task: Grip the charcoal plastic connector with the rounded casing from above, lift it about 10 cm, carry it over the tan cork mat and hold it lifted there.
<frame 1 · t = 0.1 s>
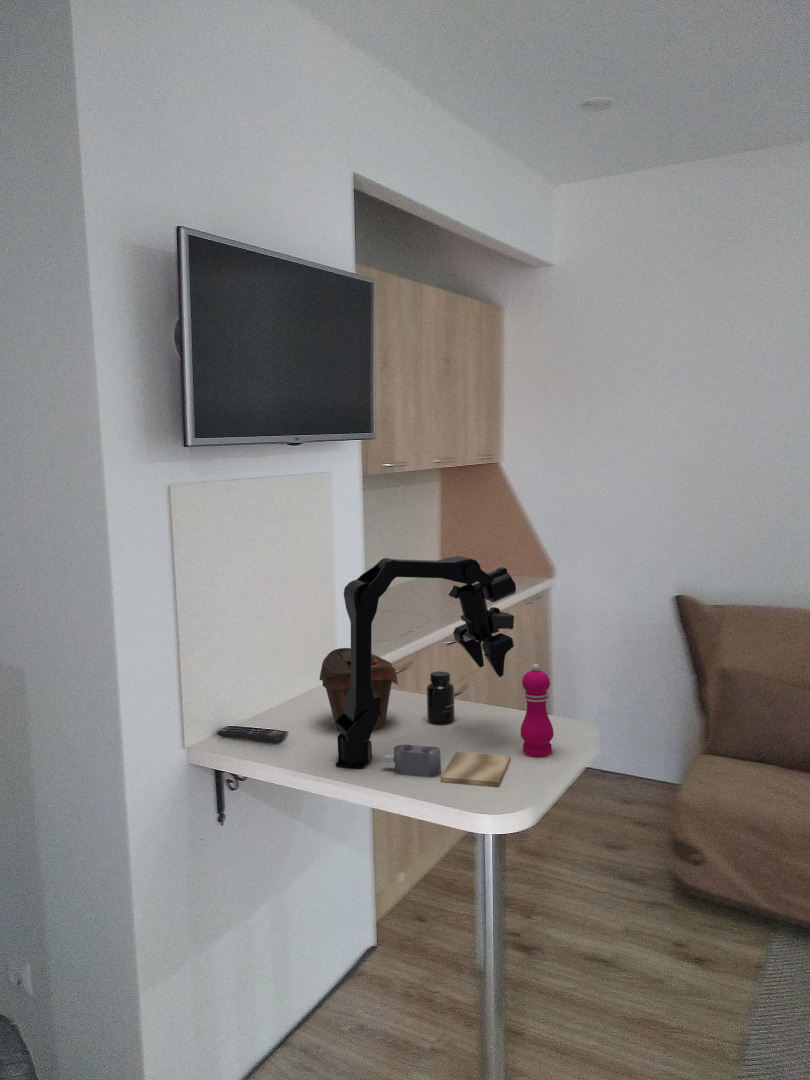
hand: (491, 671, 190), 15 cm above the table, tool pointing down, fingers open, 9 cm apart
cork mat: (476, 770, 172), on the table
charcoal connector: (417, 771, 172), on the table
supplement bottle: (441, 721, 204), on the table
brown tapered rounded piece: (361, 724, 203), on the table
pepper mill: (537, 752, 181), on the table
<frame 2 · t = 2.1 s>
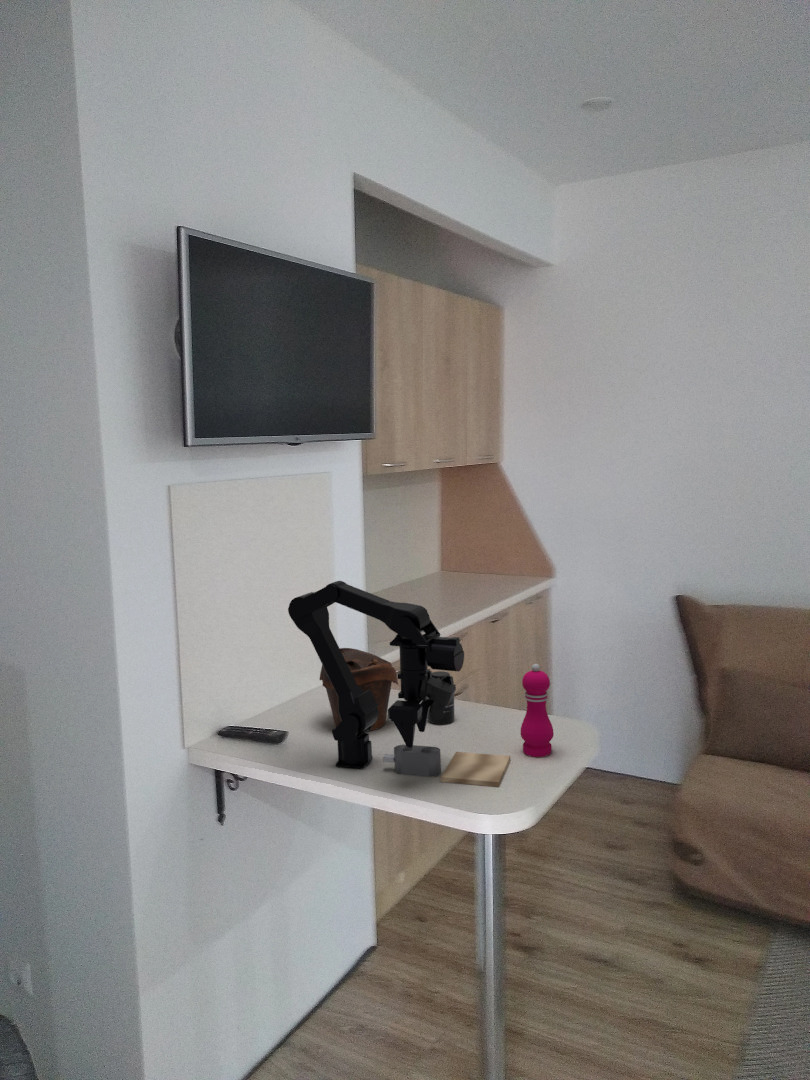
hand: (416, 739, 172), 7 cm above the table, tool pointing down, fingers open, 9 cm apart
nothing on the table moved.
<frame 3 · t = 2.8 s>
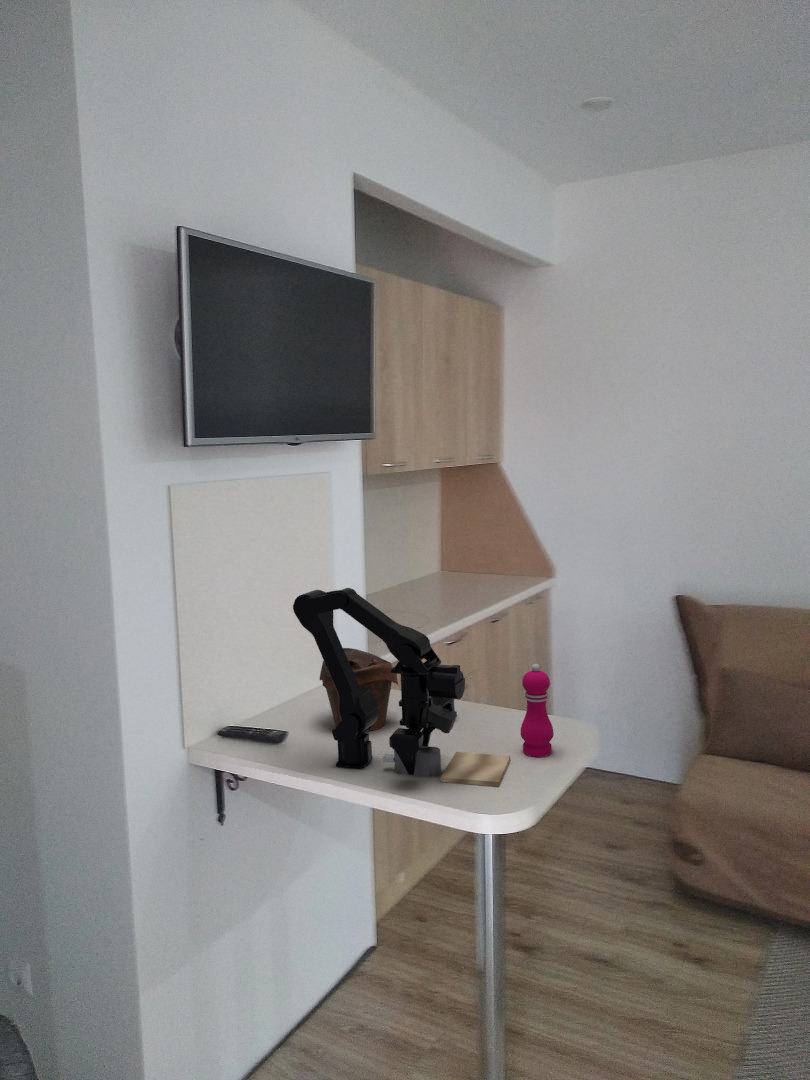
hand: (417, 766, 172), 1 cm above the table, tool pointing down, fingers open, 9 cm apart
nothing on the table moved.
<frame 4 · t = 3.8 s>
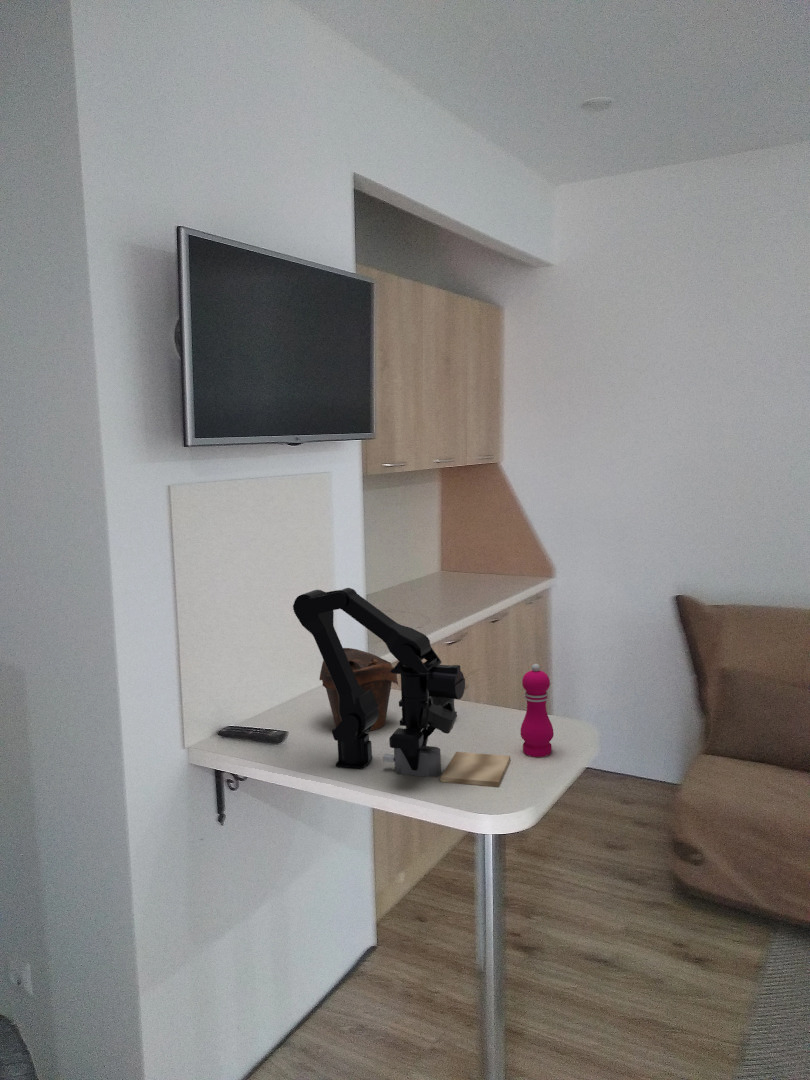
hand: (417, 766, 172), 1 cm above the table, tool pointing down, fingers closed on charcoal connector, 4 cm apart
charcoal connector: (417, 771, 172), on the table, touching gripper
everything else where it was.
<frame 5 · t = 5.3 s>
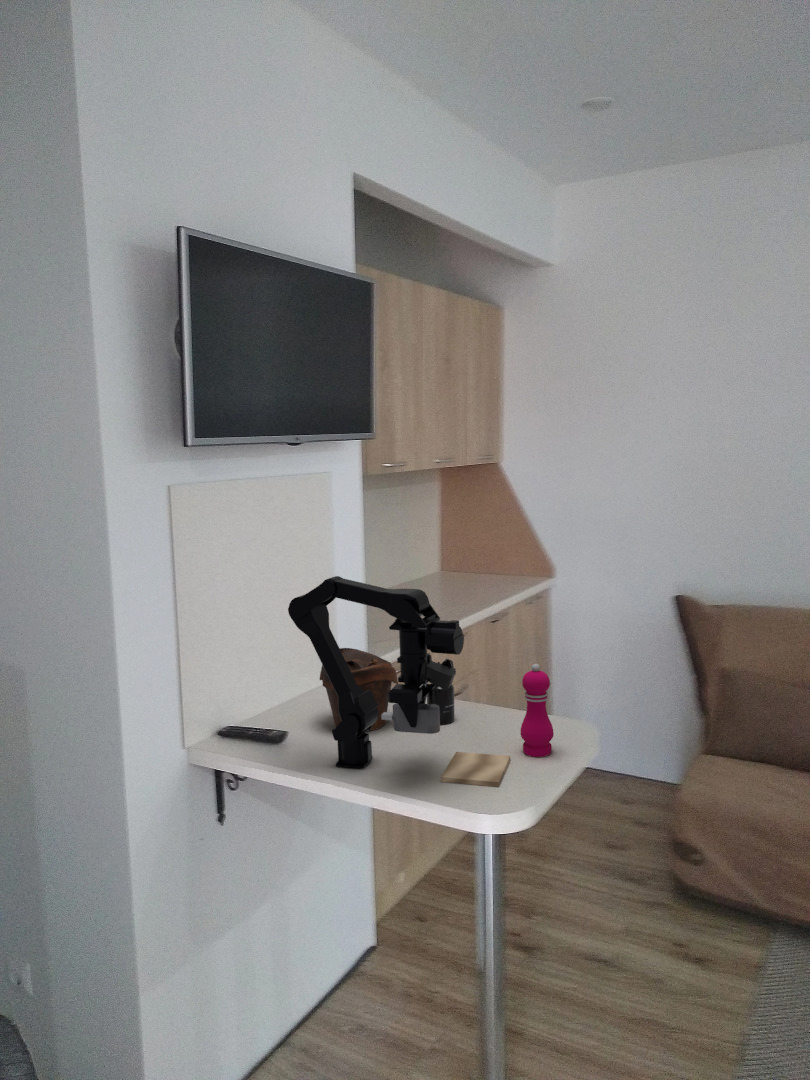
hand: (416, 723, 171), 11 cm above the table, tool pointing down, fingers closed on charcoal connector, 4 cm apart
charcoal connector: (416, 729, 171), point 9 cm above the table, touching gripper
everything else where it was.
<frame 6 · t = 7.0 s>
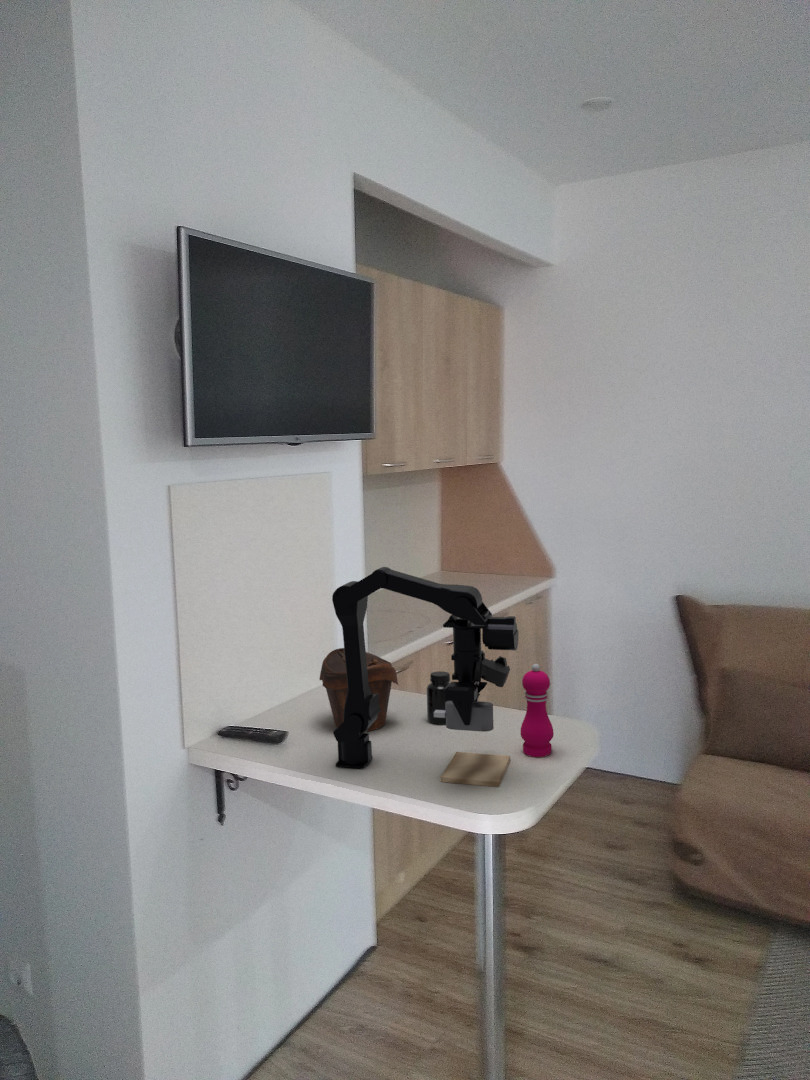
hand: (469, 721, 170), 11 cm above the table, tool pointing down, fingers closed on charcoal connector, 4 cm apart
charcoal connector: (469, 727, 170), point 10 cm above the table, touching gripper
everything else where it was.
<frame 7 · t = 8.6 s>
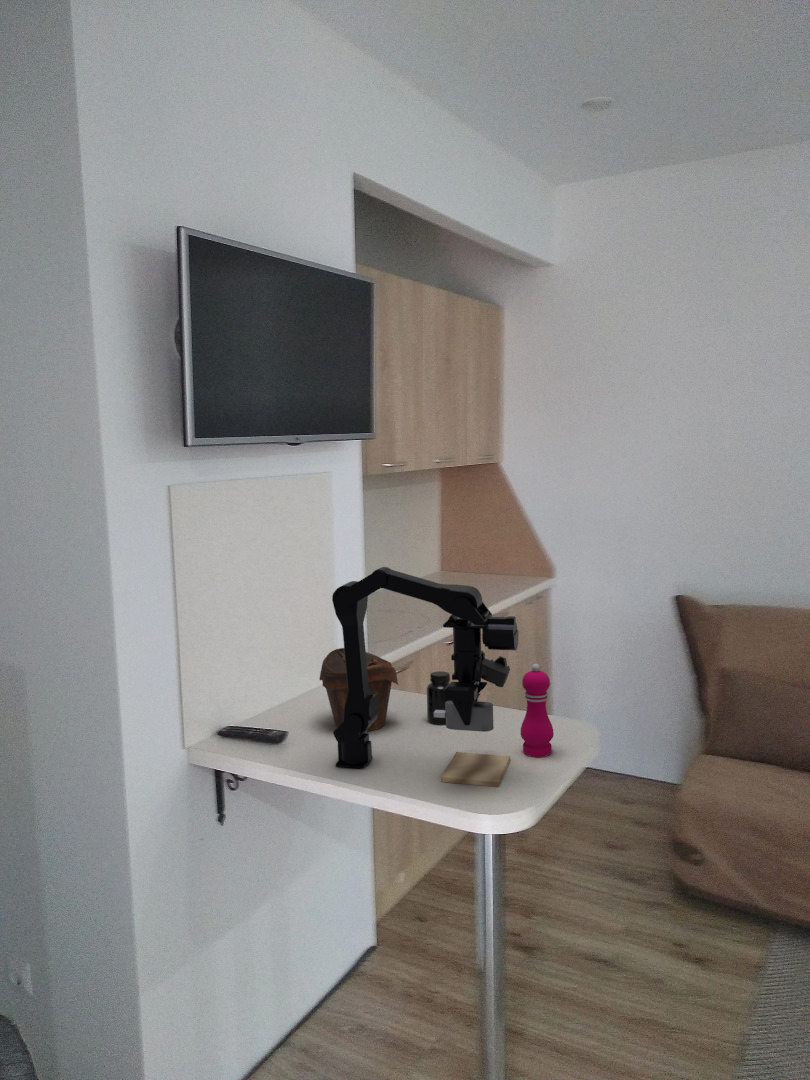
hand: (469, 721, 170), 11 cm above the table, tool pointing down, fingers closed on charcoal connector, 4 cm apart
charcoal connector: (469, 727, 170), point 10 cm above the table, touching gripper
everything else where it was.
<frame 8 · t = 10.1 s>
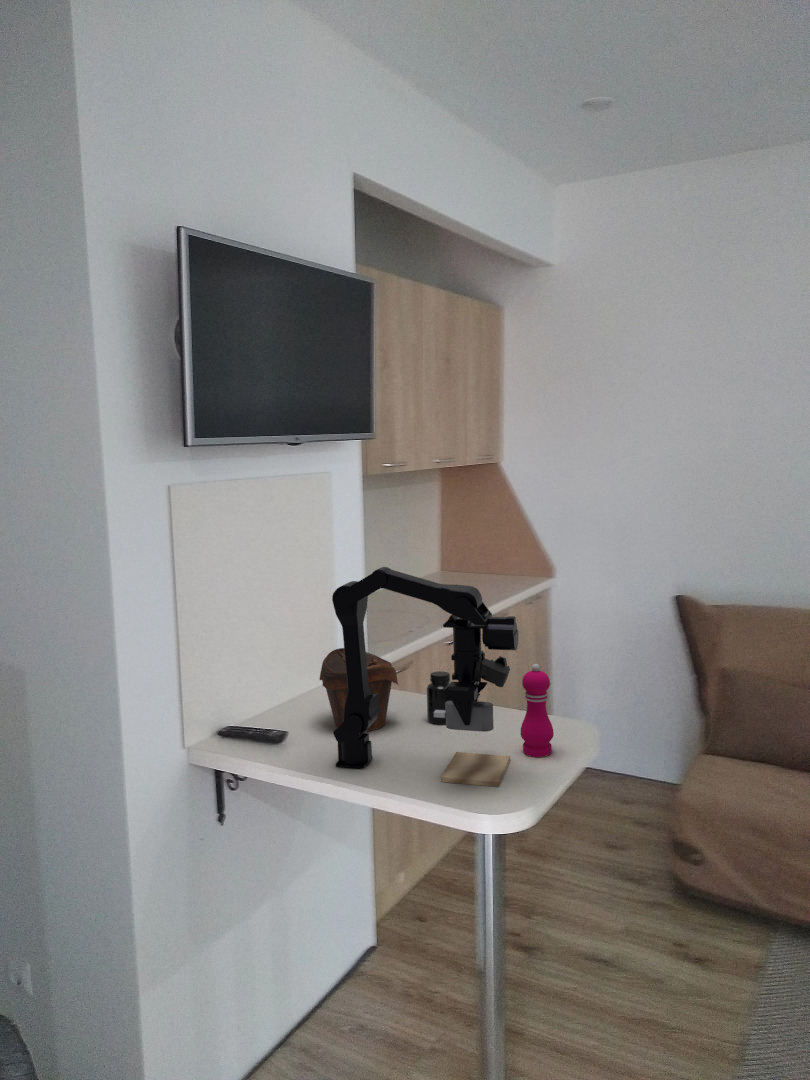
hand: (469, 721, 170), 11 cm above the table, tool pointing down, fingers closed on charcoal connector, 4 cm apart
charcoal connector: (469, 727, 170), point 10 cm above the table, touching gripper
everything else where it was.
at the end: the gripper is holding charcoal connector; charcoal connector point 9.8 cm above the table; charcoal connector 1.4 cm from the cork mat (horizontally) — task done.
